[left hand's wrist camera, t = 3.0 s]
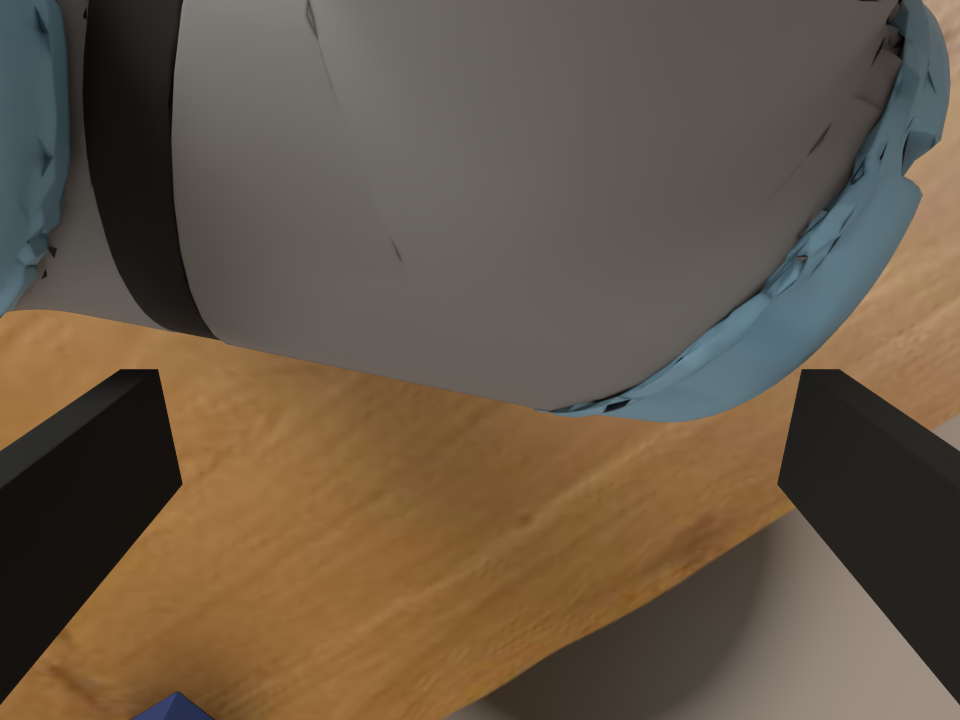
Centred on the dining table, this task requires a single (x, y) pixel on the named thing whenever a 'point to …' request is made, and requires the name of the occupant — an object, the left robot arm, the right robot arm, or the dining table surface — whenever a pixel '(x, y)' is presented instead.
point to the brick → (174, 710)
